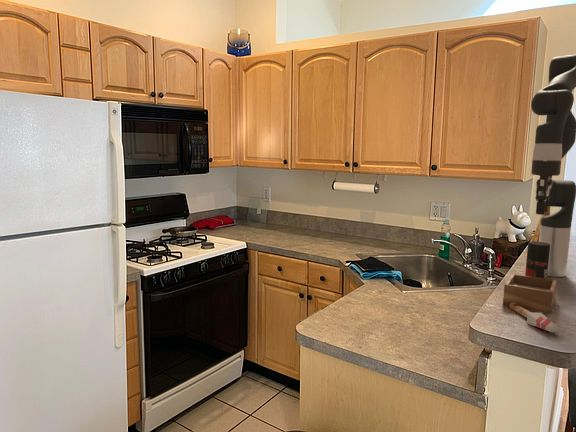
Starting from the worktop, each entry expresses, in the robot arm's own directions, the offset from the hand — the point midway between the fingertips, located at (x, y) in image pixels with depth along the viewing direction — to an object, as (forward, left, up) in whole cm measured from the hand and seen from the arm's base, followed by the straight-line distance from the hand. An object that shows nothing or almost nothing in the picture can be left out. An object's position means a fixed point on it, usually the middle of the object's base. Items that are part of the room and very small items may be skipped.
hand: (541, 213), depth 135 cm
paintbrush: (+30, +3, -25) cm, 39 cm away
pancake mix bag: (-51, -3, -25) cm, 57 cm away
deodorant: (0, 0, -25) cm, 25 cm away
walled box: (+14, 0, -24) cm, 28 cm away
